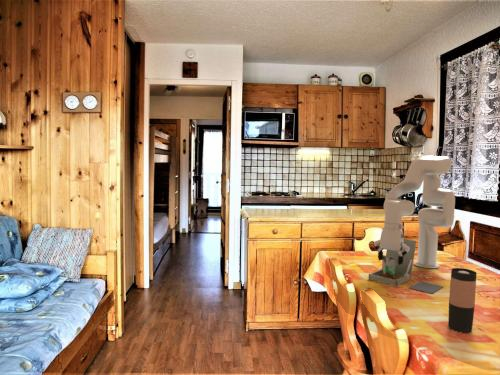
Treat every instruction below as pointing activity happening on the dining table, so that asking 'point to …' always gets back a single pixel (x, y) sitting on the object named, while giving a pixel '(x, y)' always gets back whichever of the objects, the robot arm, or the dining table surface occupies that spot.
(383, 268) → the food container
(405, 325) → the dining table surface
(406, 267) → the case
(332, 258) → the dining table surface
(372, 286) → the dining table surface
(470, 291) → the travel mug
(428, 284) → the mat
